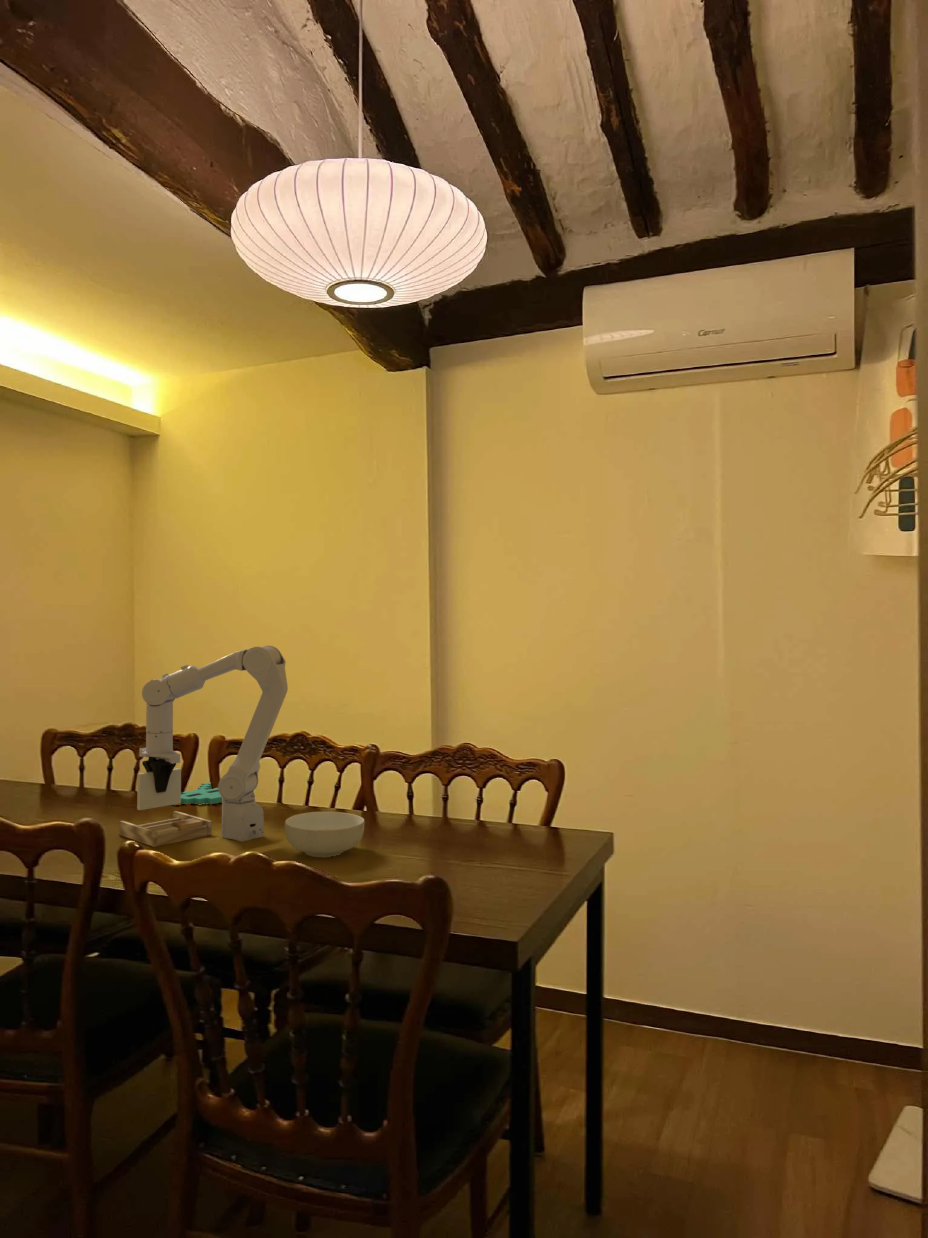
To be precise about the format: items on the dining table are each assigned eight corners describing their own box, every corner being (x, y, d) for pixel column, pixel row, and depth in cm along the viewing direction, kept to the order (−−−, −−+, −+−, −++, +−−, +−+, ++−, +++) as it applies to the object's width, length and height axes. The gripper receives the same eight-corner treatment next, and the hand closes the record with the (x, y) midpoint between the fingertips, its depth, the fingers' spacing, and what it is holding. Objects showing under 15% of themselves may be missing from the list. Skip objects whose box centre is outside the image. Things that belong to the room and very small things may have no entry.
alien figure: (146, 801, 231) (189, 811, 219) (146, 793, 231) (189, 803, 219) (207, 790, 247) (251, 799, 235) (208, 782, 247) (251, 791, 235)
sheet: (180, 803, 195) (181, 768, 195) (139, 810, 187) (140, 774, 187) (177, 802, 196) (178, 768, 196) (137, 809, 188) (137, 773, 188)
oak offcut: (202, 834, 190) (202, 821, 190) (181, 838, 186) (181, 825, 186) (192, 831, 192) (192, 818, 192) (171, 835, 188) (172, 822, 188)
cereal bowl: (324, 869, 168) (325, 833, 168) (267, 855, 177) (268, 821, 177) (380, 850, 182) (380, 817, 182) (324, 838, 191) (325, 807, 191)
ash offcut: (178, 839, 185) (178, 828, 185) (156, 844, 181) (156, 832, 181) (168, 836, 188) (168, 825, 188) (146, 840, 184) (146, 829, 184)
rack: (211, 838, 190) (211, 821, 190) (153, 851, 179) (153, 832, 179) (176, 827, 200) (176, 811, 200) (119, 839, 189) (119, 821, 189)
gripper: (127, 730, 193) (126, 789, 193) (159, 736, 184) (159, 798, 184) (155, 727, 199) (155, 785, 199) (188, 733, 189) (188, 794, 189)
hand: (159, 791), depth 191 cm, fingers closed on sheet
